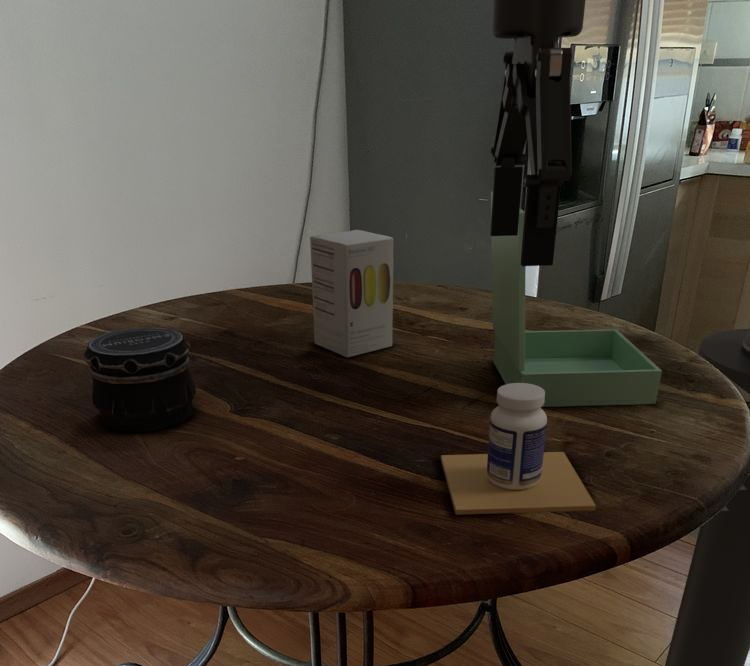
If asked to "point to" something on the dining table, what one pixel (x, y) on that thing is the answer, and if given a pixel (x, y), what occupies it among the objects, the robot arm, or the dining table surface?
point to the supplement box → (352, 291)
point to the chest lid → (509, 292)
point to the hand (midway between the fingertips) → (518, 249)
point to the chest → (583, 368)
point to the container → (141, 378)
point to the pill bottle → (517, 437)
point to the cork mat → (483, 497)
